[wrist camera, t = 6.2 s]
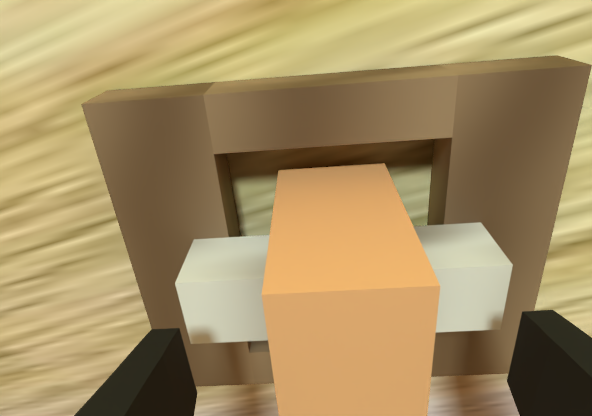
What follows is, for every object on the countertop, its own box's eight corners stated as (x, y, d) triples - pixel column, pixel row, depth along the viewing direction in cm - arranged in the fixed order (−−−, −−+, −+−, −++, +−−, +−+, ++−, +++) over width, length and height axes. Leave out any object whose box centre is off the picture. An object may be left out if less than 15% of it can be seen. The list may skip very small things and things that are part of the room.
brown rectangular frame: (556, 55, 11) (657, 82, 8) (500, 340, 16) (549, 427, 12) (106, 90, 12) (34, 128, 8) (181, 354, 16) (152, 441, 13)
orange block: (384, 163, 12) (440, 285, 7) (381, 315, 14) (420, 481, 10) (278, 170, 12) (261, 295, 7) (293, 319, 15) (289, 485, 10)
